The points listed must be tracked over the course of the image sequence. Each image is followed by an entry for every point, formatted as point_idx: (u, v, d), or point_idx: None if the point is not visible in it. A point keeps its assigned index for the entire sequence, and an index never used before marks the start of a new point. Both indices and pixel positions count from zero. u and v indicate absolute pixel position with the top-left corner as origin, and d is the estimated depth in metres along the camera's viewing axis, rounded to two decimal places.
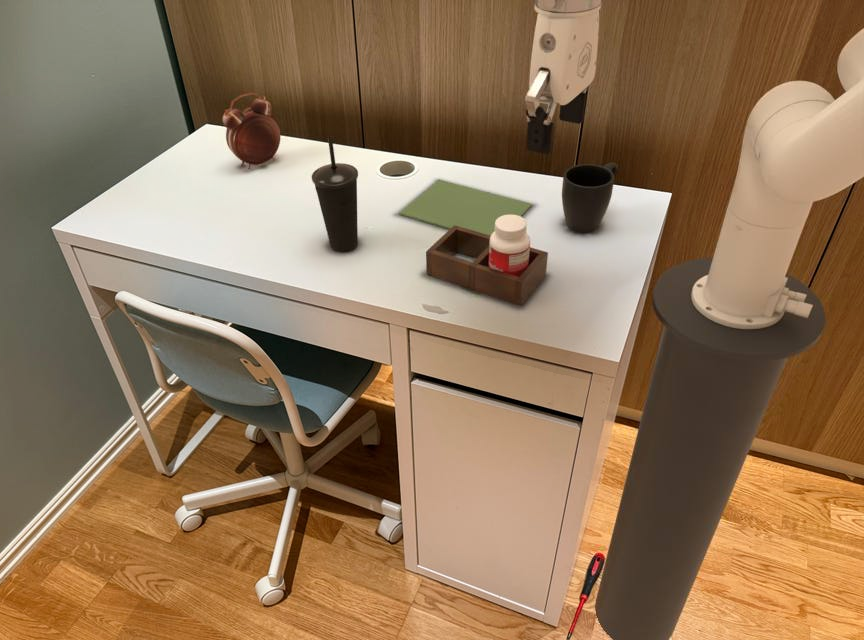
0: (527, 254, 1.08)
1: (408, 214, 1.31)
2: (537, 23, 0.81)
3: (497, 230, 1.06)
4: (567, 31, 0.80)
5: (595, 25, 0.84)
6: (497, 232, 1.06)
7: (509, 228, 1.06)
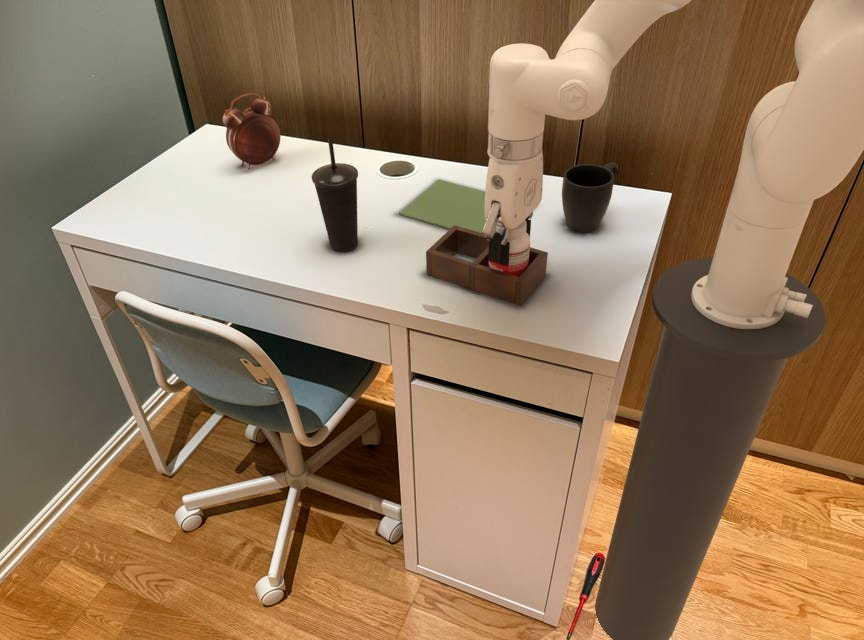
0: (527, 254, 1.08)
1: (408, 214, 1.31)
2: (489, 166, 0.98)
3: (497, 230, 1.06)
4: (512, 175, 0.96)
5: (539, 163, 1.01)
6: None
7: None
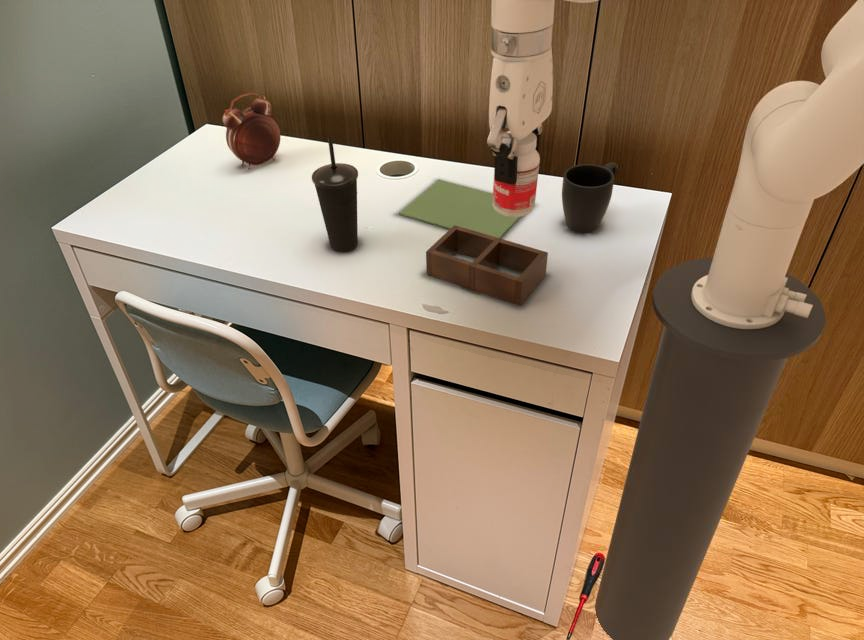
0: (536, 173, 0.99)
1: (408, 214, 1.31)
2: (493, 66, 0.89)
3: None
4: (519, 73, 0.87)
5: (548, 65, 0.92)
6: None
7: (518, 142, 0.96)
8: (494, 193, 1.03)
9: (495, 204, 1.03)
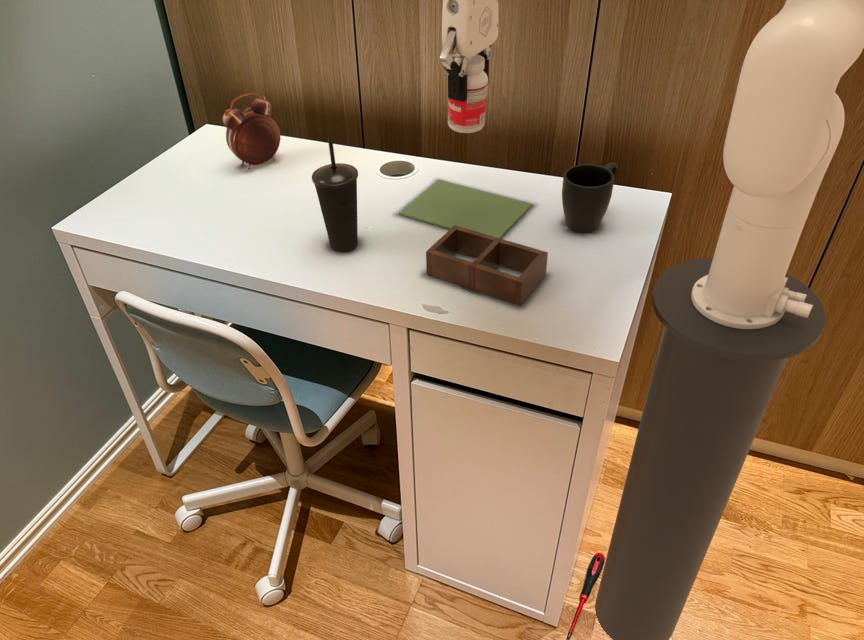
0: (484, 93, 1.13)
1: (408, 214, 1.31)
2: None
3: None
4: None
5: None
6: None
7: (468, 62, 1.10)
8: (449, 111, 1.17)
9: (449, 122, 1.17)
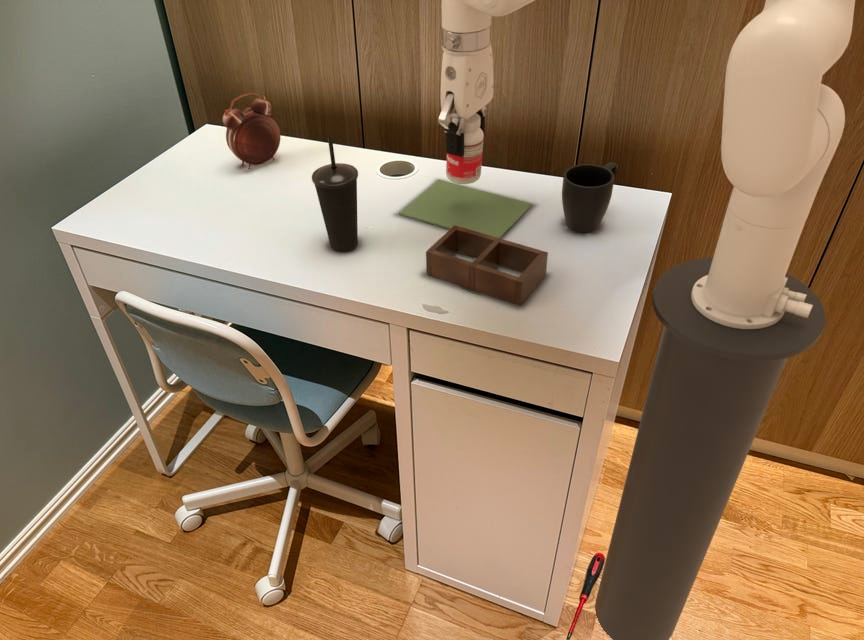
0: (480, 148, 1.21)
1: (408, 214, 1.31)
2: (443, 59, 1.10)
3: None
4: (463, 65, 1.09)
5: (488, 59, 1.13)
6: None
7: (465, 121, 1.18)
8: (447, 164, 1.24)
9: (447, 174, 1.25)
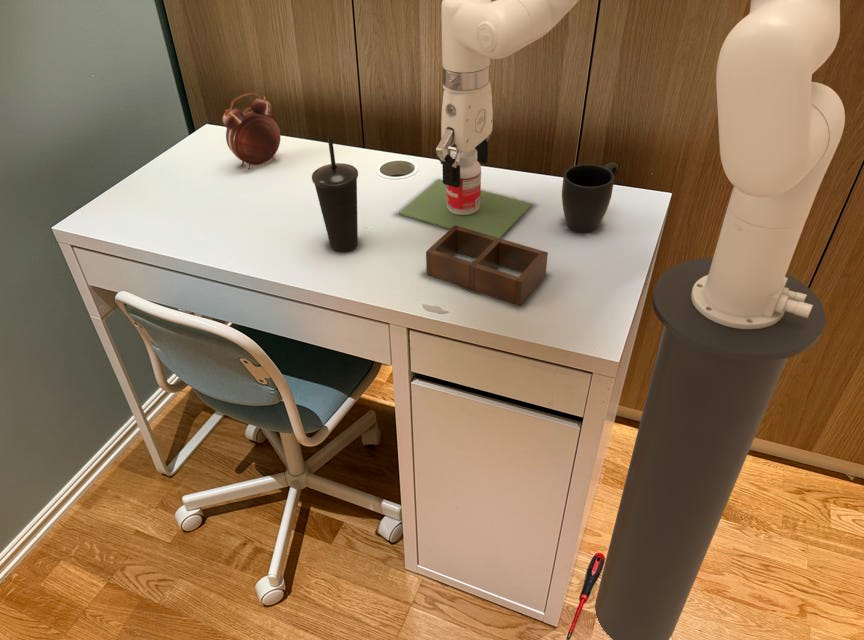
0: (478, 180, 1.25)
1: (408, 214, 1.31)
2: (443, 96, 1.14)
3: None
4: (463, 103, 1.13)
5: (487, 96, 1.17)
6: None
7: (462, 155, 1.23)
8: (447, 196, 1.29)
9: (448, 206, 1.29)
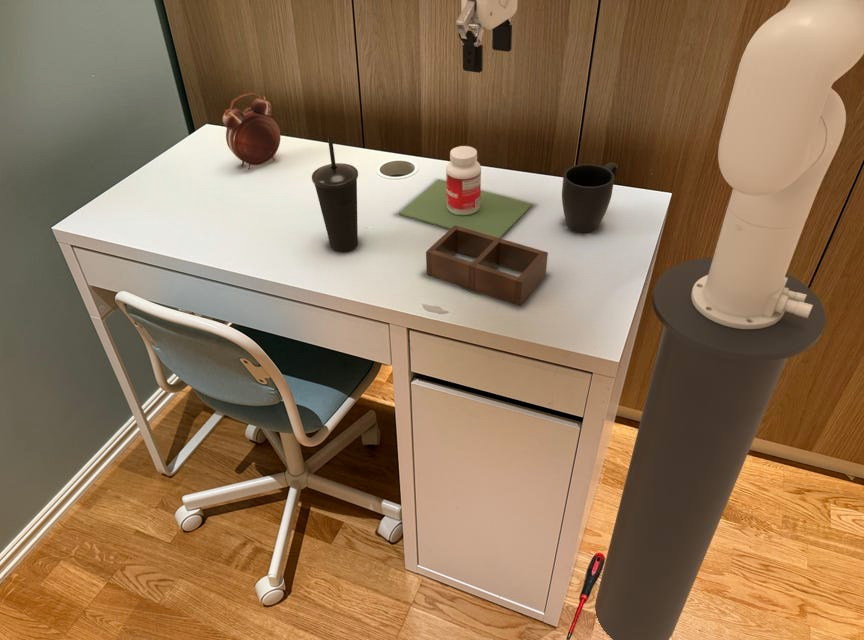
0: (478, 180, 1.25)
1: (408, 214, 1.31)
2: None
3: (452, 159, 1.23)
4: None
5: None
6: (452, 160, 1.23)
7: (462, 156, 1.22)
8: (447, 197, 1.29)
9: (448, 206, 1.29)
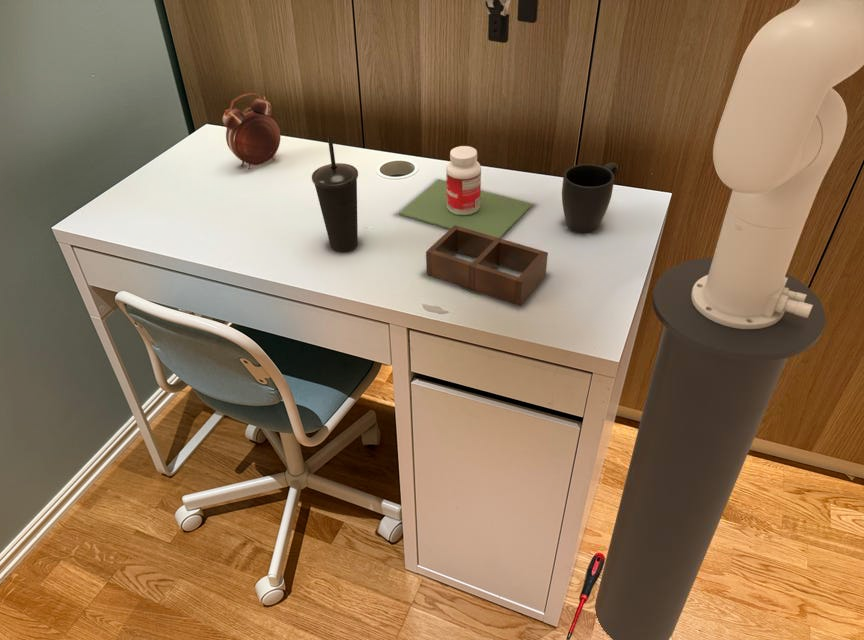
0: (478, 180, 1.25)
1: (408, 214, 1.31)
2: None
3: (452, 159, 1.23)
4: None
5: None
6: (452, 160, 1.23)
7: (462, 156, 1.22)
8: (447, 197, 1.29)
9: (448, 206, 1.29)
